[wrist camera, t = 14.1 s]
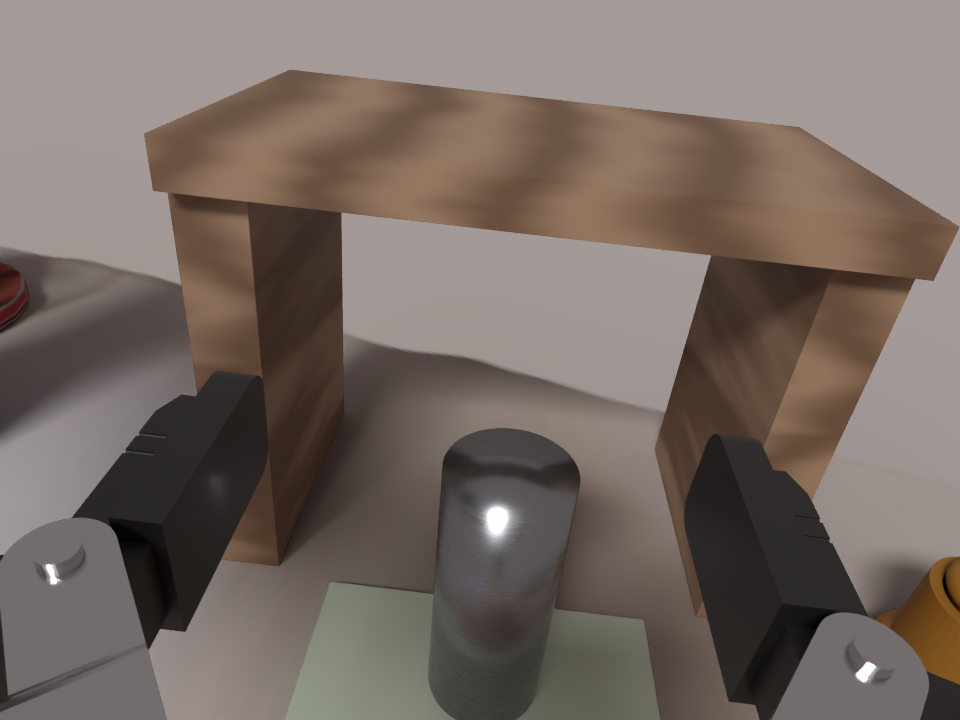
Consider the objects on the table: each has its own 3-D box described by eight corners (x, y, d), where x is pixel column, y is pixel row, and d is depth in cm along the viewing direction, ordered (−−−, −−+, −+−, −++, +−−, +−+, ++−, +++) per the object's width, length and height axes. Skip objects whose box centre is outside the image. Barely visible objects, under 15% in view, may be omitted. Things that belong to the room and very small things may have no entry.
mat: (278, 744, 27) (278, 737, 27) (330, 588, 34) (330, 581, 34) (668, 793, 27) (671, 787, 27) (641, 626, 34) (643, 619, 34)
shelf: (214, 574, 34) (144, 133, 23) (305, 399, 48) (289, 69, 37) (759, 640, 34) (959, 226, 23) (694, 445, 48) (799, 127, 36)
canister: (420, 720, 28) (434, 510, 22) (435, 620, 33) (450, 422, 26) (538, 734, 28) (584, 527, 22) (537, 632, 32) (576, 435, 26)
